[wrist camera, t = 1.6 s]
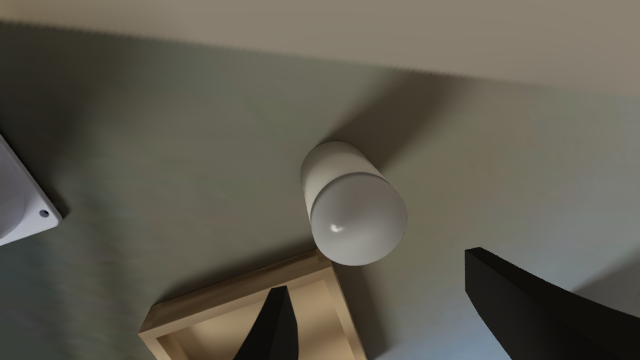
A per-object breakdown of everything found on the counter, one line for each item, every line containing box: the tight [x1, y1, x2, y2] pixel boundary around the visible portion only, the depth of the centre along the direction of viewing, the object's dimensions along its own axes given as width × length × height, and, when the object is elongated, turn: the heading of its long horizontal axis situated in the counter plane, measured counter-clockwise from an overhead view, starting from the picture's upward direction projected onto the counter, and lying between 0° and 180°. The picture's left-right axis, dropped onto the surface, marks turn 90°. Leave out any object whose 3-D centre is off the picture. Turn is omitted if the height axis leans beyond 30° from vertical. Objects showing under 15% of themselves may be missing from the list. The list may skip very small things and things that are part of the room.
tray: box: [138, 248, 368, 360], centre depth 25 cm, size 14×14×2 cm
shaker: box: [301, 141, 408, 266], centre depth 18 cm, size 5×5×7 cm
